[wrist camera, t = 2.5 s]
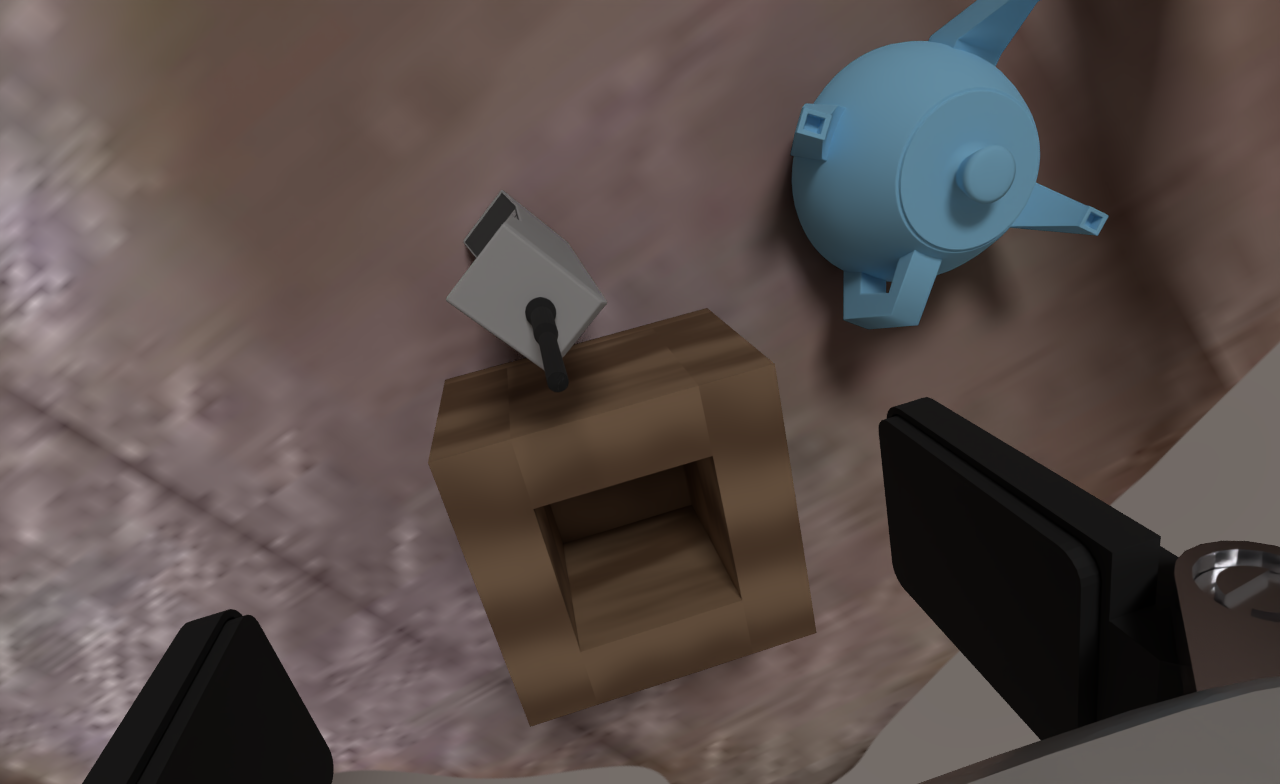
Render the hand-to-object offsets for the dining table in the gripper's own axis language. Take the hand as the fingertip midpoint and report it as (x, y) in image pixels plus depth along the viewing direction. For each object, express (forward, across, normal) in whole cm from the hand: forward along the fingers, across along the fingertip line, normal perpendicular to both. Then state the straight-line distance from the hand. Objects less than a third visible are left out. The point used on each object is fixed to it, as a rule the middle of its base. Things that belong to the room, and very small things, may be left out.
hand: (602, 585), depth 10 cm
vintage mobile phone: (+35, 0, 0) cm, 35 cm away
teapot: (+35, -24, +1) cm, 42 cm away
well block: (+34, -2, +16) cm, 38 cm away
